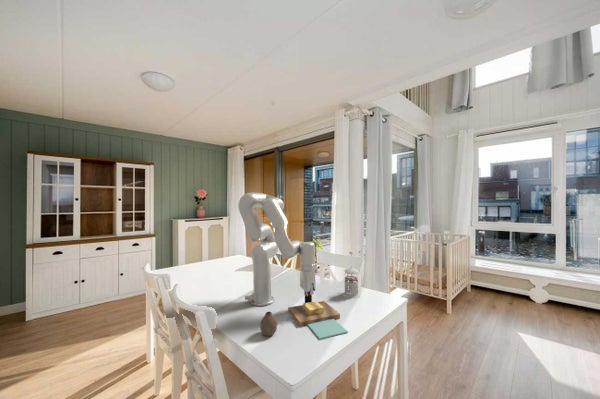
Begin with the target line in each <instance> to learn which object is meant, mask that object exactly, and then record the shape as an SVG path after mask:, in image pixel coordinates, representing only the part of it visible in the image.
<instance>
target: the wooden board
mask: <svg viewBox="0 0 600 399" xmlns="http://www.w3.org/2000/svg"><path fill="white" fill-rule="evenodd" d="M317 302H318V303H319V304H320V305H321V306H322V307H323V308H324V313H321V314H316V315H311V316H310V315H309V314H308V313H307V312H306V311H305V310H304V309H303V304H299V305H296V306H295V305H293V306H291V307H290V306H289V307H287V312H288V313H289V314H290V316H291V317H292V319H293V320H294V321H295V322H296V323H297V325H298V326H299V327H300V328H301V327H306V326H307V327H308V324H310V323H315V322H319V321H324V320H329V319H335V320H339V319H341V313H339V312H338V311H337V310H336V309H334V307H332V306H331V305H330V304H328V303H327V302H326V301H324V300H323V301H317Z"/></svg>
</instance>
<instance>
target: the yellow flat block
mask: <svg viewBox="0 0 600 399" xmlns="http://www.w3.org/2000/svg"><path fill="white" fill-rule="evenodd" d="M318 302H319V301H317V300H315V301H312V302H309V303H305V302H304V303H303V304H302V305H303V309H304V310H305V311H306V312H307V313H308V314H309V315H310V316H311V315H316V314H321V313H324V308H323V307H322V306H321V305H320V304H319V303H318Z"/></svg>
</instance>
